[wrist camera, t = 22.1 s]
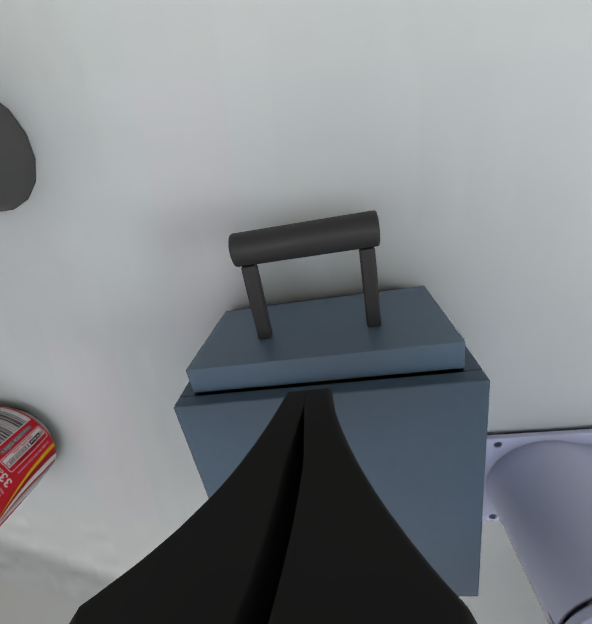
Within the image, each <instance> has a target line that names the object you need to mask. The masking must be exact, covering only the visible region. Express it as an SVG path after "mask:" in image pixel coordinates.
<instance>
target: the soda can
mask: <svg viewBox="0 0 592 624" xmlns="http://www.w3.org/2000/svg"><path fill="white" fill-rule="evenodd" d="M55 459H56V447H55V444H54V441H53V439H52V437H51V434H50V432H49V430H48V429H47V427H46V426H45V425H44V424H43V423H42V422H41V421H40V420H39V419H37V418H36V417H34V416H33V415H31V414H29V413H27V412H24V411H22V410H18V409H13V408H9V407H3V406H0V526H1V525H2V524H3V523H4V521H5V520H6V519H7V518H8V517H9V516H10V515H11V514H12V513H13V511H14V510H15V509H16V508H17V507H18V506H19V505H20V504H21V502H22V501H23V500H24V499H25V498H26V497H27V496H28V494H29V493H30V492H31V491H32V490H33V489H34V488H35V486H36V485H37V484H38V483H39V482H40V480H41V479H42V478H43V476H44V475H45V474H46V472H47V471H48V470H49V468H50V467H51V466H52V464H53V463H54V461H55Z"/></svg>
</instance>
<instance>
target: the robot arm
mask: <svg viewBox="0 0 592 624" xmlns="http://www.w3.org/2000/svg"><path fill="white" fill-rule="evenodd" d="M495 442H497V443H495ZM482 520H483V521H497V520H501V523H502V525H503V527H504V529H505V531H506V533H507V535H508V538H509V540H510V542H511V544H512V546H513V548H514V550H515V552H516V555H517V557H518V559H519V561H520V563H521V565H522V567H523V569H524V572H525V574H526V576H527V578H528V580H529V582H530V584H531V586H532V589H533V591H534V593H535V595H536V597H537V599H538V601H539V604H540V606H541V608H542V610H543V612H544V614H545V616H546V618H547V621H548V623H549V624H592V429H581V430H565V431H549V432H533V433H518V434H502V435H487V442H486V460H485V478H484V497H483V515H482ZM69 624H477V622H476V620H475V619H474V617H473V615H472V613H471V612H470V610H469V608H468V607H467V606H466V605H465V603H464V602H463V601H462V600H461V599H460V598H459V597H458V596H457V595H456V594H455V592H454V591H453V590H452V589H451V588H450V587H449V586H448V585H447V584H446V582H445V581H444V580H443V579H442V578H441V577H440V575H439V574H438V573H437V572H436V571H435V570H434V569H433V567H432V566H431V565H430V564H429V563H428V561H427V560H426V559H425V558H424V556H423V555H422V554H421V553H420V552H419V550H418V549H417V548H416V547H415V545H414V544H413V543H412V542H411V540H410V539H409V538H408V536H407V535H406V534H405V532H404V531H403V530H402V528H401V527H400V526H399V524H398V523H397V522H396V520H395V519H394V518H393V516H392V515H391V514H390V512H389V511H388V510H387V508H386V507H385V505H384V504H383V502H382V501H381V499H380V498H379V496H378V495H377V493H376V492H375V490H374V489H373V487H372V485H371V484H370V482H369V481H368V479H367V477H366V476H365V474H364V472H363V471H362V469H361V467H360V465H359V463H358V462H357V460H356V458H355V456H354V454H353V452H352V450H351V448H350V446H349V444H348V442H347V440H346V438H345V435H344V433H343V431H342V428H341V426H340V423H339V421H338V418H337V415H336V412H335V406H334V400H333V394H332V391H331V390H330V389H328V388H324V389H313V390H302V391H290V392H288V393H287V394H286V396H285V397H284V399H283V401H282V403H281V404H280V406H279V408H278V409H277V411H276V413H275V414H274V416H273V417H272V419H271V420H270V422H269V424H268V425H267V427H266V428H265V430H264V431H263V432H262V434H261V435H260V437H259V438H258V440H257V441H256V443H255V444H254V445H253V447H252V448H251V449H250V451H249V452H248V453H247V455H246V456H245V457H244V459H243V460H242V461H241V463H240V464H239V465H238V466H237V468H236V469H235V470H234V471H233V473H232V474H231V475H230V476H229V477H228V478H227V480H226V481H225V482H224V483H223V484H222V485H221V486H220V488H219V489H218V490H217V491H216V492H215V493H214V494H213V495H212V496H211V497H210V498H209V499H208V500H207V501H206V502H205V503H204V504H203V505H202V507H201V508H199V509H198V510H197V511H196V512H195V513H194V514H193V515H192V516H191V517H190V518H189V519H188V520H187V521H186V522H185V523H184V524H183V525H182V526H181V527H180V528H179V529H178V530H176V531H175V532H174V533H173V534H172V535H171V536H170V537H169V538H167V539H166V540H165V541H164V542H163V543H162V544H160V545H159V546H158V547H157V548H156V549H154V550H153V551H152V552H151V553H150V554H148V555H147V556H146V557H145V558H144V559H142V560H141V561H140V562H139V563H137V564H136V565H135V566H134V567H132V568H131V569H130V570H128V571H127V572H126V573H124V574H123V575H122V576H120V577H119V578H118V579H116V580H115V581H114V582H112V583H111V584H110V585H108V586H107V587H106V588H104V589H103V590H102V591H100V592H99V593H98V594H96V595H95V596H94V597H92V598H91V599H90V600H88V601H87V602H85V603H84V604H82V605H81V606H80V607H79V609H78V610H77V612H76V614H75V615H74V617H73V618H72V620H71V622H70V623H69Z"/></svg>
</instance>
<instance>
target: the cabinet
mask: <svg viewBox="0 0 592 624" xmlns="http://www.w3.org/2000/svg"><path fill="white" fill-rule="evenodd" d="M436 372H437V374H435V375H424V376H412V377H401V378H390V379H379V380H368V381H357V382H346V383H335V384H324V385H313V386H302V387H291V388H280V389H269V390H257V391H246V392H235V393H224V392H225V390H219V391H209V392H198V393H194V392H193V389H192V386H191V383H190V382H189V383H188V385H187V386H186V388H185V390H184V391H183V393H182V394H181V396H180V398H179V400H178V401H177V403H176V404H175V406H174V410H175V412H176V415H177V417H178V420H179V423H180V425H181V428H182V430H183V433H184V435H185V438H186V441H187V443H188V446H189V448H190V451H191V453H192V456H193V459H194V461H195V464H196V466H197V469H198V471H199V474H200V477H201V479H202V482H203V484H204V487H205V489H206V492H207V495H208V497H209V498H210V497H211V496H212V495H213V494H214V493H215V492H216V491H217V490H218V489H219V488H220V486H221V485H222V484H223V483H224V482H225V481H226V480H227V478H228V477H229V476H230V475H231V474H232V473H233V471H234V470H235V469H236V468H237V466H238V465H239V464H240V463H241V461H242V460H243V459H244V457H245V456H246V455H247V453H248V452H249V451H250V449H251V448H252V447H253V445H254V444H255V443H256V441H257V440H258V438H259V437H260V435H261V434H262V432H263V431H264V430H265V428H266V427H267V425H268V424H269V422H270V420H271V419H272V417H273V416H274V414H275V413H276V411H277V409H278V408H279V406H280V404H281V403H282V401H283V399H284V397H285V396H286V394H287V393H288V392H290V391H302V390H313V389H324V388H328V389H330V390H331V391H332V394H333V400H334V406H335V412H336V415H337V418H338V421H339V423H340V426H341V428H342V431H343V433H344V435H345V438H346V440H347V442H348V444H349V446H350V448H351V450H352V452H353V454H354V456H355V458H356V460H357V462H358V463H359V465H360V467H361V469H362V471H363V472H364V474H365V476H366V477H367V479H368V481H369V482H370V484H371V485H372V487H373V489H374V490H375V492H376V493H377V495H378V496H379V498H380V499H381V501H382V502H383V504H384V505H385V507H386V508H387V510H388V511H389V512H390V514H391V515H392V516H393V518H394V519H395V520H396V522H397V523H398V524H399V526H400V527H401V528H402V530H403V531H404V532H405V534H406V535H407V536H408V538H409V539H410V540H411V542H412V543H413V544H414V545H415V547H416V548H417V549H418V550H419V552H420V553H421V554H422V555H423V556H424V558H425V559H426V560H427V561H428V563H429V564H430V565H431V566H432V567H433V569H434V570H435V571H436V572H437V573H438V574H439V575H440V577H441V578H442V579H443V580H444V581H445V582H446V584H447V585H448V586H449V587H450V588H451V589H452V590H453V591H454V592H455V594H456V595H457V596H478V587H479V569H480V551H481V533H482V515H483V497H484V478H485V460H486V442H487V424H488V406H489V388H490V380H489V378H488V377H487V375H486V374H485V373H484V371H482V368H481V367H480V366H479V364H478V363H477V361H476V360H475V359H474V357H473V356H472V354H471V353H470V352H469V350H468V349H467V347H466V346H465V367H464V368H459V369H448V370H437V371H436Z"/></svg>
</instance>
